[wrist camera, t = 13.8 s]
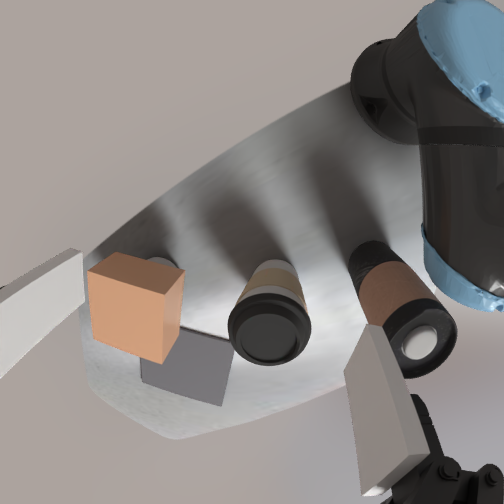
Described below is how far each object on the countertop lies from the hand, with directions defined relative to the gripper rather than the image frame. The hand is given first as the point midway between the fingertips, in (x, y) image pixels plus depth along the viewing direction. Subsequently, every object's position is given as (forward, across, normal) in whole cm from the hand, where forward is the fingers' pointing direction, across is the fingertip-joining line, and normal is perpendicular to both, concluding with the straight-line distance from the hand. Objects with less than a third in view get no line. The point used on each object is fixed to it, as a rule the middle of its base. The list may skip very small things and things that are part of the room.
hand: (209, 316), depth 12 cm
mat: (+29, -8, -32) cm, 44 cm away
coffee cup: (+29, +4, -11) cm, 31 cm away
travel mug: (+29, +17, -5) cm, 34 cm away
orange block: (+23, -13, -15) cm, 30 cm away
